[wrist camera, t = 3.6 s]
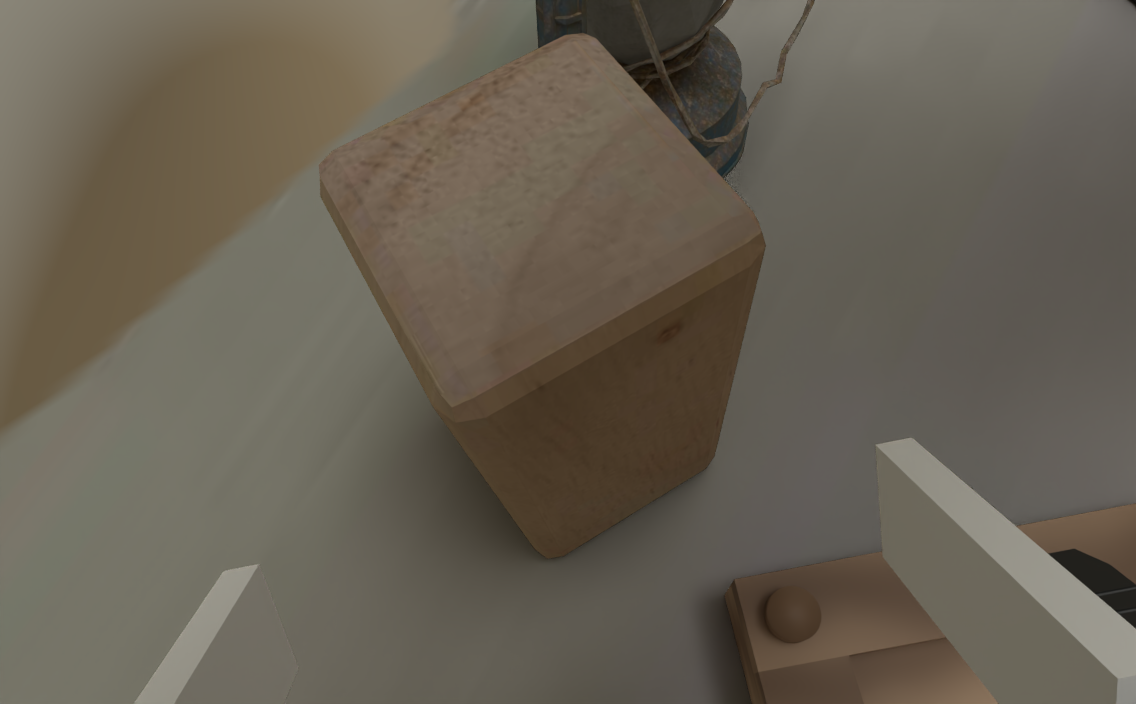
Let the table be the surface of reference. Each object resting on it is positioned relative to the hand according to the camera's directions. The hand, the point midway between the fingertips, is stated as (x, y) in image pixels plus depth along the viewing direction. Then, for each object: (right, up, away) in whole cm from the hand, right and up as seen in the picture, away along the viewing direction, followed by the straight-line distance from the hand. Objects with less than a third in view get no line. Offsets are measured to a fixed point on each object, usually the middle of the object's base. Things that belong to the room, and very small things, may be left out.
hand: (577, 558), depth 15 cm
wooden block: (+1, 0, +23) cm, 23 cm away
